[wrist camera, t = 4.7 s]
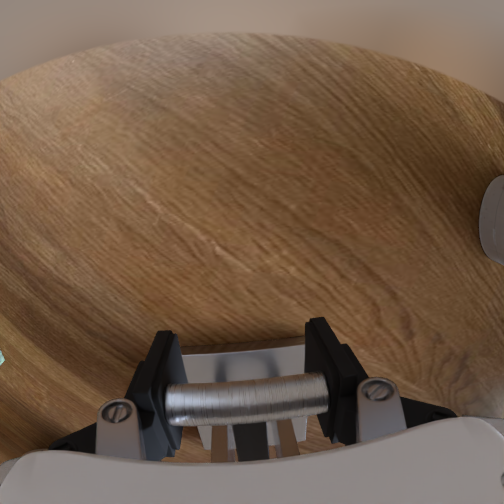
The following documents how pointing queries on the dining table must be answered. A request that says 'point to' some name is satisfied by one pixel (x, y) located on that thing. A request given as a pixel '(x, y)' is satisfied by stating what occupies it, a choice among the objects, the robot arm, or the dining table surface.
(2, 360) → the green button base
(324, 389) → the flush lever
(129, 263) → the dining table surface
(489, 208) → the thermos bottle
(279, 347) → the lever bracket
